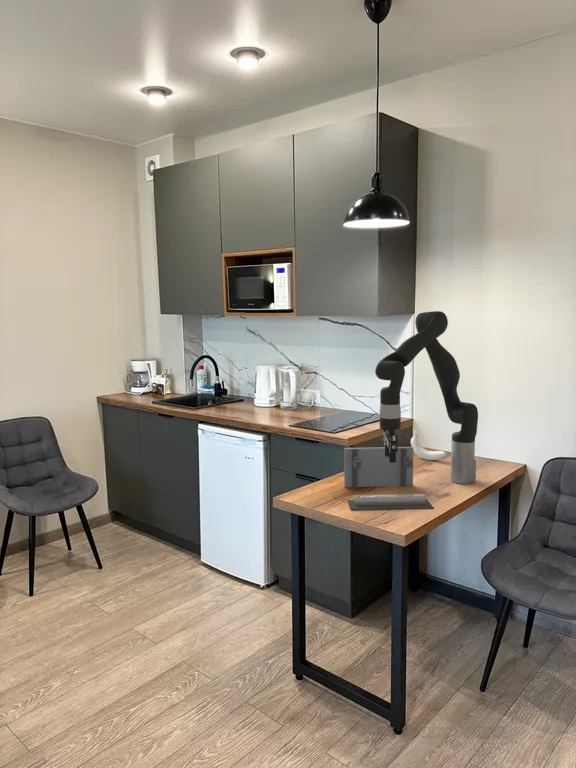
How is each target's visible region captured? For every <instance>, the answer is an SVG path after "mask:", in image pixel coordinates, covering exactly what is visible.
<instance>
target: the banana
mask: <svg viewBox="0 0 576 768" xmlns="http://www.w3.org/2000/svg"><path fill="white" fill-rule="evenodd" d="M413 433H414V434H413V436H412V437H411V439H410V447H413V453H415V454H416V455H417V456H418V457H420V458H422V459H423V460H425V461H437V460H440V459H443V458H445V457H446V456H447V452H445V451H443V450H435V451H434V450H427V449H426V448H424V447H423V446H422V445H421V444H420V442H419V438H418V434H419V432H418V431H417V430H416V429H414V430H413Z"/></svg>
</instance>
